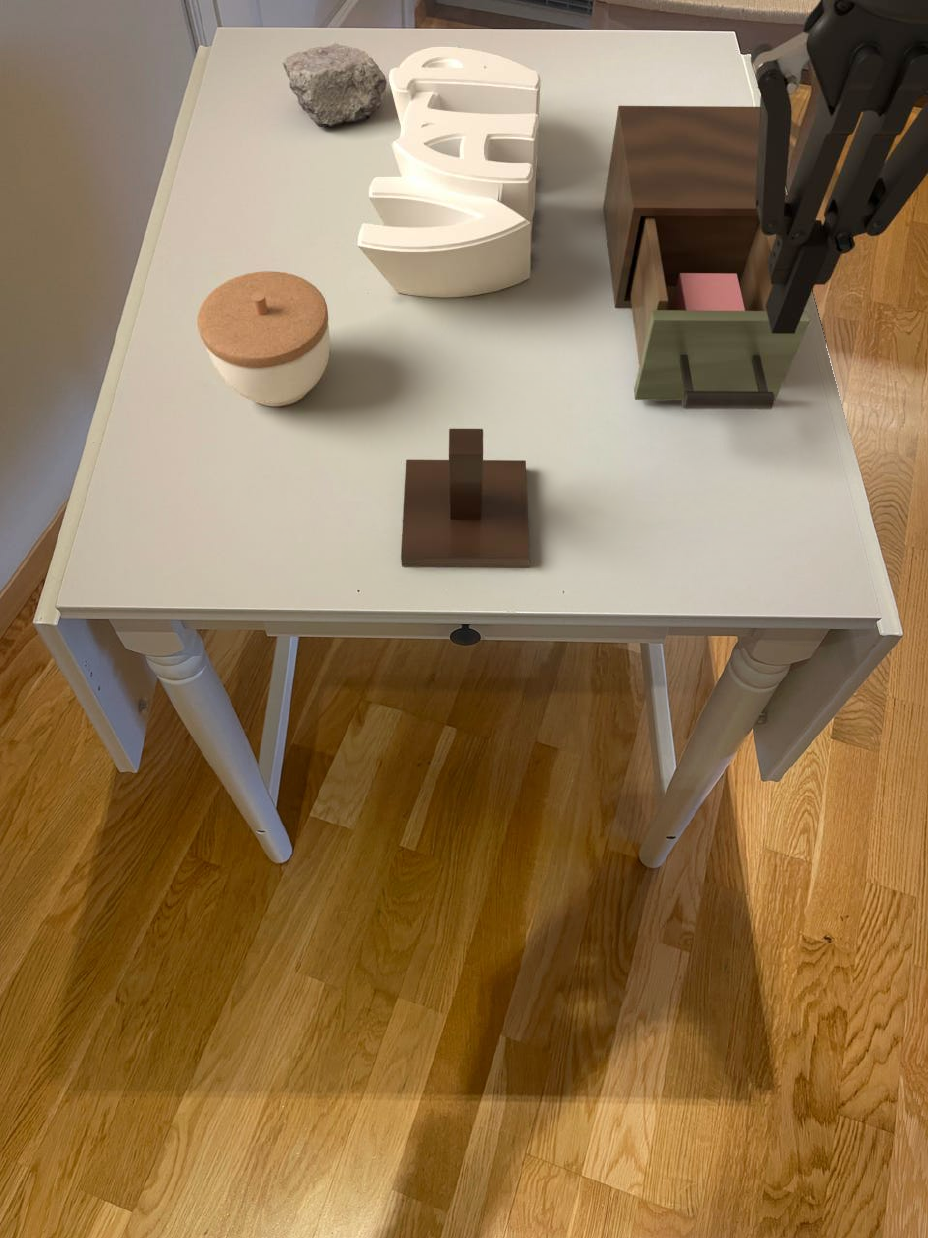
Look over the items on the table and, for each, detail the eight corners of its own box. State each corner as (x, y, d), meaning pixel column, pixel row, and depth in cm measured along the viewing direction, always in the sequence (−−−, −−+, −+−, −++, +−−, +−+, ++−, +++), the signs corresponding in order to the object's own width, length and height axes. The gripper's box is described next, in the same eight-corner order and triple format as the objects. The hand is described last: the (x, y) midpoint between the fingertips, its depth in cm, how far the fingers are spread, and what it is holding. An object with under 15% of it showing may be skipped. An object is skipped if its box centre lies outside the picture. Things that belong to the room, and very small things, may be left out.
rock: (391, 143, 102) (383, 72, 104) (389, 83, 94) (380, 8, 96) (293, 149, 101) (287, 77, 103) (282, 88, 93) (276, 12, 95)
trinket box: (353, 406, 78) (341, 322, 70) (235, 440, 76) (208, 357, 68) (318, 328, 83) (303, 241, 75) (206, 358, 81) (178, 271, 73)
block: (730, 357, 78) (745, 312, 74) (674, 357, 78) (686, 311, 74) (722, 319, 81) (736, 273, 77) (668, 318, 81) (679, 272, 77)
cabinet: (755, 308, 85) (791, 208, 75) (614, 307, 85) (633, 207, 75) (732, 207, 92) (761, 106, 83) (602, 207, 92) (618, 105, 83)
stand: (528, 567, 69) (536, 495, 61) (401, 566, 69) (394, 494, 61) (525, 469, 74) (532, 391, 67) (406, 468, 74) (400, 390, 67)
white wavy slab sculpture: (520, 339, 82) (528, 240, 73) (348, 322, 83) (334, 223, 74) (552, 127, 100) (561, 26, 91) (410, 115, 101) (404, 14, 92)
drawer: (787, 448, 74) (824, 370, 67) (640, 447, 74) (661, 369, 67) (749, 290, 85) (778, 207, 77) (621, 289, 85) (636, 206, 77)
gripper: (1066, -145, 41) (864, 283, 61) (783, -147, 41) (676, 281, 61) (1126, -70, 37) (889, 360, 57) (814, -73, 37) (689, 358, 57)
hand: (779, 319), depth 59 cm, fingers closed
